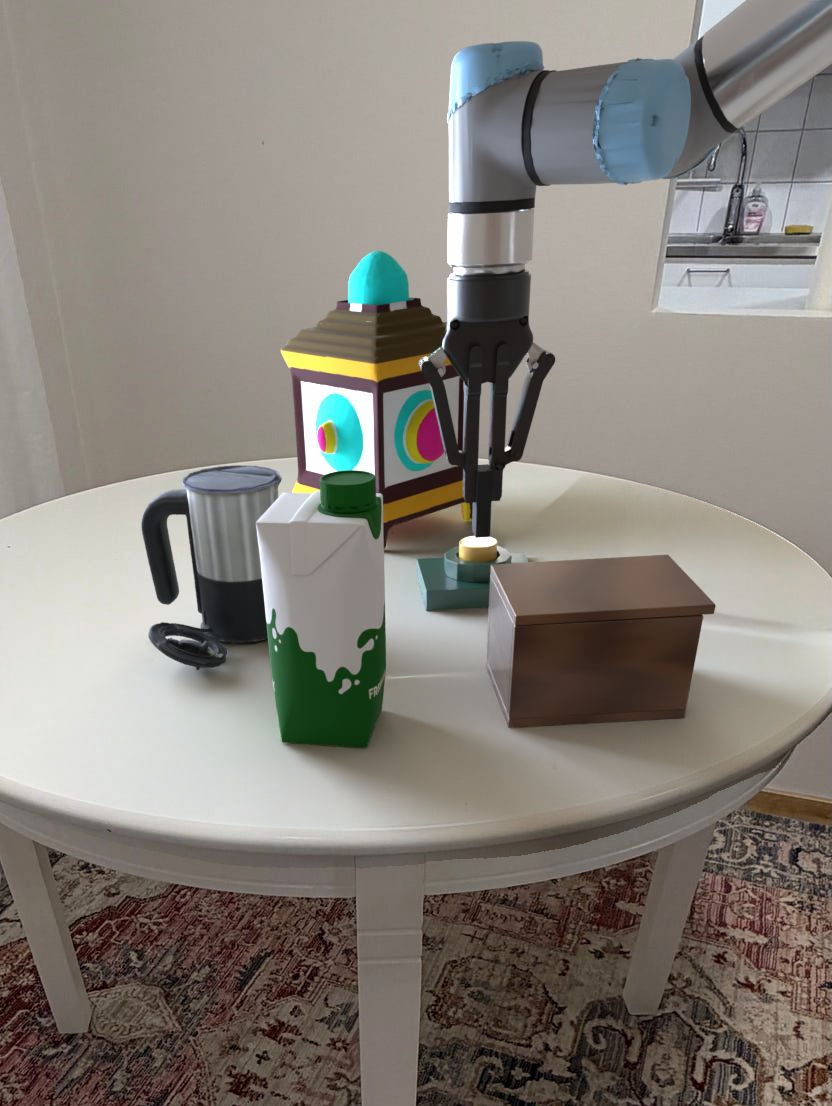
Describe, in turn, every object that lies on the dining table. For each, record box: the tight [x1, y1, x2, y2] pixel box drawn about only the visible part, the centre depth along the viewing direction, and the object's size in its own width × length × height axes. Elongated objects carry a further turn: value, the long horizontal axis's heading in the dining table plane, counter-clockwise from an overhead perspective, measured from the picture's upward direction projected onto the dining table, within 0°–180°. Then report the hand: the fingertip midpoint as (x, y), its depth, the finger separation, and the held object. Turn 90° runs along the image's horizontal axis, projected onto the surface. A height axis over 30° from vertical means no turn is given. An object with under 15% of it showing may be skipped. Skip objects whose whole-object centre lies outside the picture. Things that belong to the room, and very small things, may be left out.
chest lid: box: [490, 554, 717, 625], centre depth 77 cm, size 15×12×1 cm
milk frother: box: [140, 464, 283, 671], centre depth 90 cm, size 14×16×15 cm
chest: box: [485, 574, 704, 729], centre depth 80 cm, size 15×12×9 cm
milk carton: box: [256, 470, 387, 749], centre depth 74 cm, size 9×9×20 cm
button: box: [458, 535, 499, 562], centre depth 100 cm, size 4×4×2 cm
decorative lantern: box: [280, 250, 473, 551], centre depth 115 cm, size 20×20×30 cm
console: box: [416, 545, 530, 612], centre depth 102 cm, size 12×10×4 cm
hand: (480, 533), depth 99 cm, fingers closed
